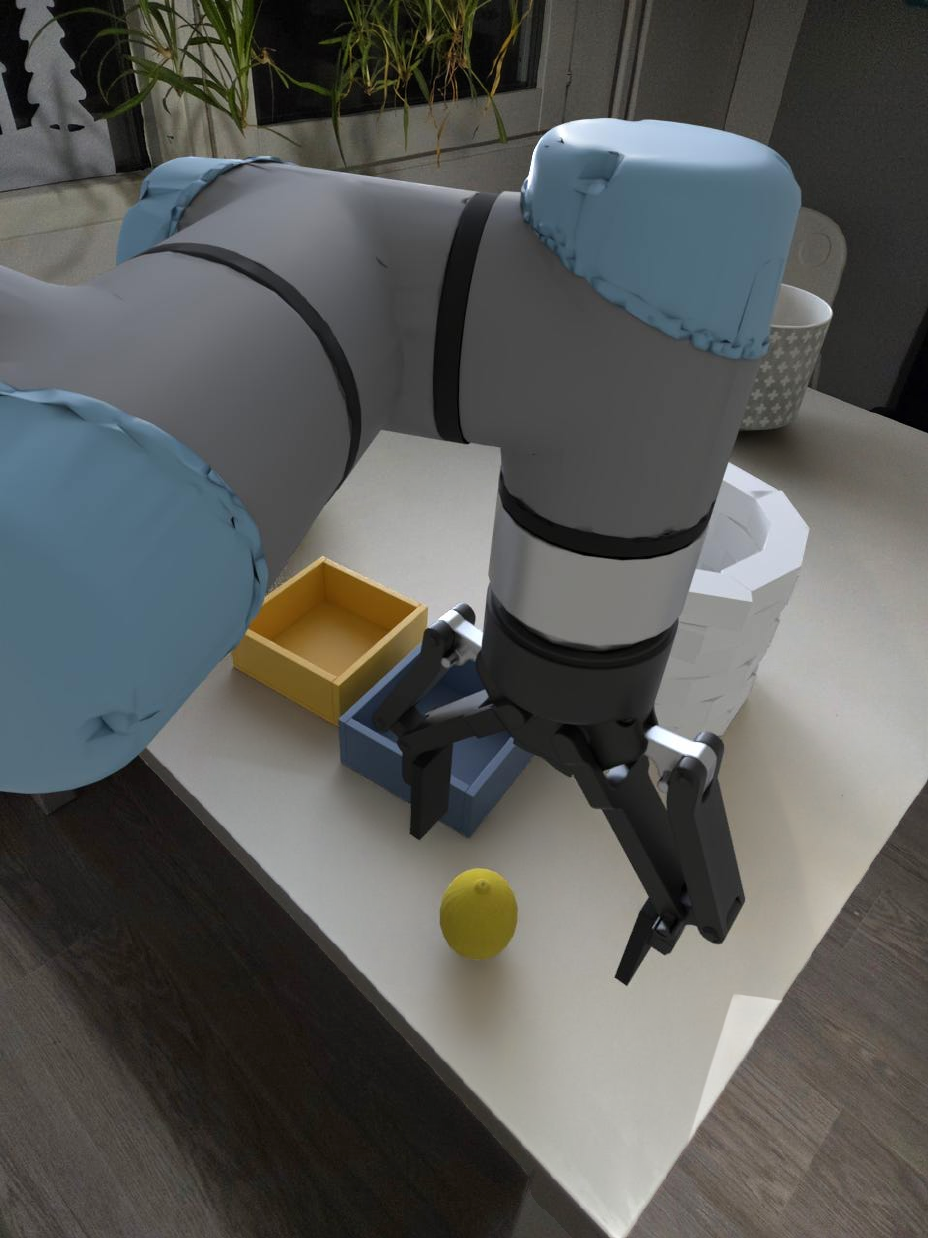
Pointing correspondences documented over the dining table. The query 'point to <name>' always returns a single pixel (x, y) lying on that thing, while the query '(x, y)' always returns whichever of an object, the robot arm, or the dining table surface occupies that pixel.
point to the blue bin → (475, 762)
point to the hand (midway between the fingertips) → (524, 888)
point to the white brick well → (731, 605)
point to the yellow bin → (329, 637)
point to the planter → (787, 359)
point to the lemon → (478, 914)
